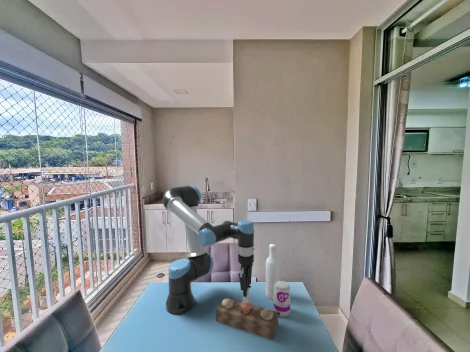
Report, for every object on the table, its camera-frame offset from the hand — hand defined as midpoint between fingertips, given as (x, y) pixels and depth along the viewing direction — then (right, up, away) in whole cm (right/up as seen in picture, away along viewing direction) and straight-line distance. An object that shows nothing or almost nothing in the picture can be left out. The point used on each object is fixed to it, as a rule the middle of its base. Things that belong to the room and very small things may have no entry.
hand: (246, 301), depth 105 cm
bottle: (+17, -9, +22) cm, 29 cm away
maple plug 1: (-9, -9, +4) cm, 13 cm away
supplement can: (+19, -10, +7) cm, 23 cm away
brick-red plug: (0, -8, 0) cm, 8 cm away
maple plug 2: (+9, -9, -4) cm, 14 cm away
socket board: (0, -10, 0) cm, 10 cm away
